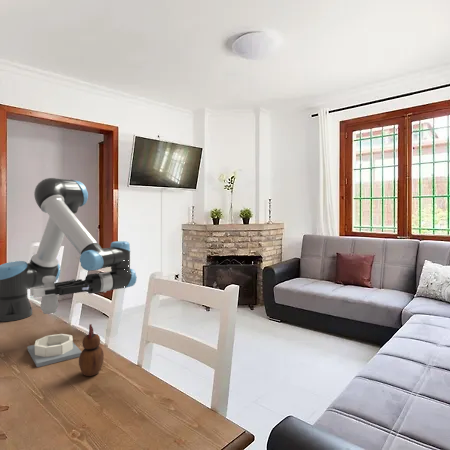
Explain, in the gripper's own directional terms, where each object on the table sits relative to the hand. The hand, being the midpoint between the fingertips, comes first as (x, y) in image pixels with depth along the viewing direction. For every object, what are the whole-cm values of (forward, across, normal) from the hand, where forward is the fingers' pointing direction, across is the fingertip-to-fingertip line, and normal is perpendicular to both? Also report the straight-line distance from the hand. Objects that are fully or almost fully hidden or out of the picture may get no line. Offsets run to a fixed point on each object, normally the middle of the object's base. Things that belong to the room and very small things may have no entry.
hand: (32, 292), depth 117 cm
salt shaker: (-5, 0, -8) cm, 10 cm away
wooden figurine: (-6, -34, -19) cm, 39 cm away
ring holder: (-3, -12, -17) cm, 21 cm away
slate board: (-3, -12, -18) cm, 22 cm away
